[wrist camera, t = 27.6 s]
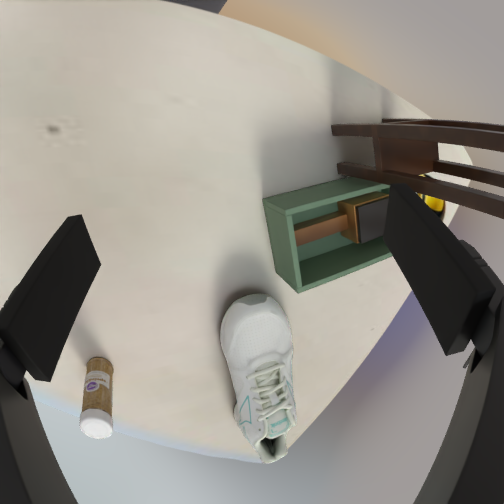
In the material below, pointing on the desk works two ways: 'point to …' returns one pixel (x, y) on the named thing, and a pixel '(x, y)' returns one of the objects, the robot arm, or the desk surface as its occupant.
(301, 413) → the desk surface
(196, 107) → the desk surface
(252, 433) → the training shoe
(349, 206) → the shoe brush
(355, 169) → the brown wooden stand
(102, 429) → the sprinkles bottle
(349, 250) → the bin
